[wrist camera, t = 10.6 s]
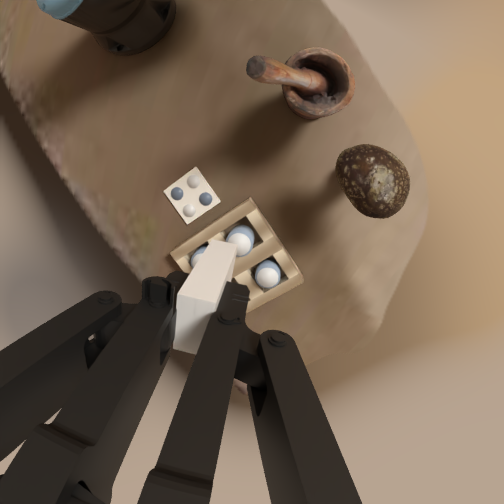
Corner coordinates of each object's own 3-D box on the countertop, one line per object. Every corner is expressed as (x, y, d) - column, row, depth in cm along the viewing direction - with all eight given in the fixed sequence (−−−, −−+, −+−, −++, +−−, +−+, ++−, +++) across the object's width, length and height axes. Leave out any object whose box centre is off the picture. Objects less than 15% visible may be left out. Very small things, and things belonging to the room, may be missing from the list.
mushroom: (384, 189, 46) (423, 210, 32) (336, 206, 48) (359, 234, 34) (365, 134, 43) (401, 133, 29) (316, 151, 45) (333, 156, 31)
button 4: (252, 265, 52) (250, 274, 49) (272, 253, 51) (271, 261, 48) (265, 283, 53) (263, 293, 50) (284, 271, 52) (285, 281, 49)
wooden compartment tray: (175, 247, 53) (169, 253, 50) (250, 196, 49) (248, 200, 46) (227, 315, 57) (225, 324, 54) (302, 274, 53) (303, 282, 50)
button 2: (224, 233, 48) (220, 240, 45) (245, 219, 47) (242, 226, 44) (238, 253, 49) (235, 262, 46) (259, 240, 48) (258, 248, 45)
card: (164, 190, 49) (163, 191, 49) (196, 166, 48) (195, 166, 47) (187, 224, 51) (187, 224, 51) (220, 201, 49) (220, 202, 49)
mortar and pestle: (274, 136, 45) (271, 132, 26) (253, 87, 42) (236, 51, 24) (343, 113, 43) (385, 96, 24) (322, 64, 40) (349, 18, 21)
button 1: (191, 252, 52) (185, 260, 49) (209, 240, 51) (204, 247, 48) (205, 270, 53) (200, 279, 50) (223, 258, 52) (219, 267, 49)
